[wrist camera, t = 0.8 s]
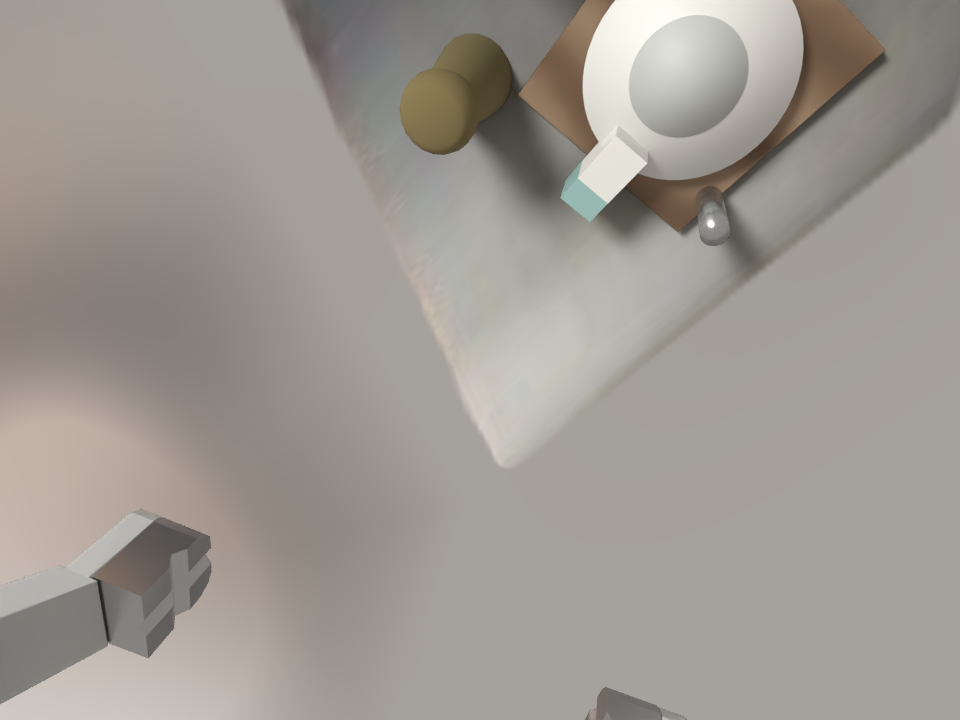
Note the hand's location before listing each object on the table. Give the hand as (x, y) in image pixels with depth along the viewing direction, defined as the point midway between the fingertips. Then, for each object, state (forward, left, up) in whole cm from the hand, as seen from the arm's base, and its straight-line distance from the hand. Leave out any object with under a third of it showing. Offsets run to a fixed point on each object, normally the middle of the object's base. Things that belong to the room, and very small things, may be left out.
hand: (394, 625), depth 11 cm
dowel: (0, +13, -42) cm, 44 cm away
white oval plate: (-3, +5, -40) cm, 41 cm away
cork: (+5, -7, -42) cm, 43 cm away
